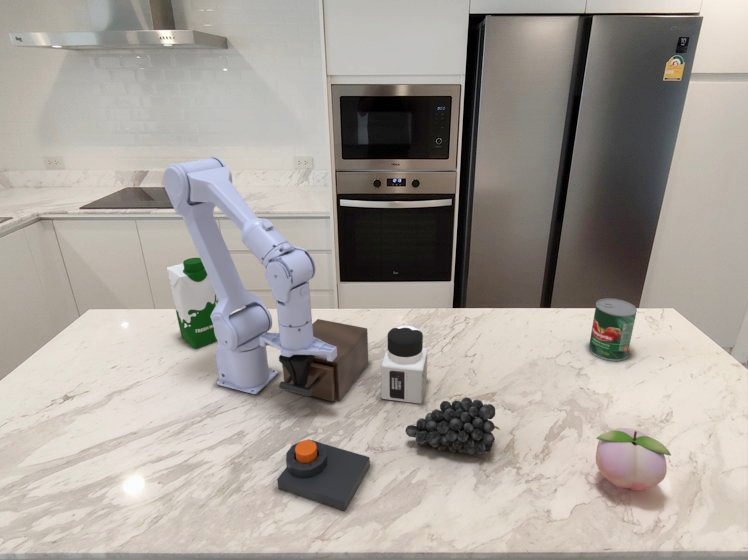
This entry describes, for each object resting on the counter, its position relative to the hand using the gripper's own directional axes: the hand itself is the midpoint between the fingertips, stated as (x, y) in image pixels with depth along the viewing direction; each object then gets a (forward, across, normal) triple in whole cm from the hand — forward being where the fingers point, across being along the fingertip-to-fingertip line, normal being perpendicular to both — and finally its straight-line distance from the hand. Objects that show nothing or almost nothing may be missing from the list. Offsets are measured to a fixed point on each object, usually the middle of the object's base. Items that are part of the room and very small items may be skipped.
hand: (301, 385), depth 87 cm
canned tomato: (+5, +53, +40) cm, 67 cm away
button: (+1, +9, -14) cm, 16 cm away
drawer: (+4, 0, +6) cm, 7 cm away
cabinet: (+5, 0, +10) cm, 11 cm away
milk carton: (+5, -35, +13) cm, 38 cm away
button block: (+5, +12, -14) cm, 19 cm away
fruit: (+5, +28, 0) cm, 28 cm away
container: (+5, +16, +11) cm, 20 cm away
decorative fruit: (+5, +54, +1) cm, 54 cm away
